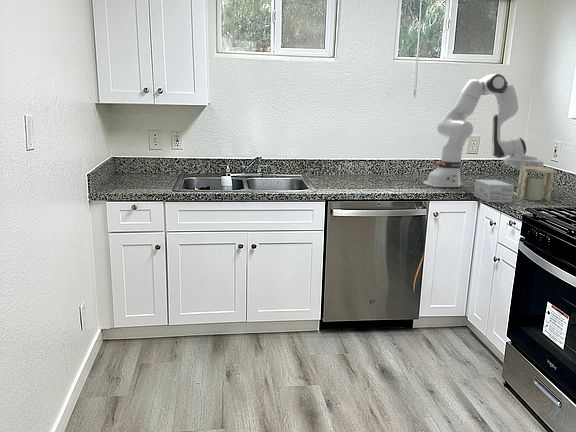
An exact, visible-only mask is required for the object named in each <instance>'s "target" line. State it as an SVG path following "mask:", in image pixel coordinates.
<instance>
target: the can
mask: <svg viewBox="0 0 576 432" xmlns="http://www.w3.org/2000/svg"><path fill="white" fill-rule="evenodd" d="M544 180H545V178H544V177H542V176H534V175H531V176H530V175H527V180H526V187H525V193H524V198H525V199H524V200H527V199H531V200H530V201H535V200H540V201H542V200H543V198H542V192H543V186H544Z"/></svg>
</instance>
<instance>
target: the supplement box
mask: <svg viewBox="0 0 576 432" xmlns="http://www.w3.org/2000/svg"><path fill="white" fill-rule="evenodd" d="M514 187H515V185H514V184H511V183H508V182H505V181H502V180H499V179H475V182H474V191H473V197H475V198H478V199H479V200H482V201H485V202H486V203H503V204H504V203H505V202H512V201H513V195H514V194H513V191H514Z"/></svg>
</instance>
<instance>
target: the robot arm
mask: <svg viewBox="0 0 576 432" xmlns="http://www.w3.org/2000/svg"><path fill="white" fill-rule="evenodd" d="M514 86H515V85H513V84H512V83H508V81H507V79H506V78H505V76H503V75H502V74H500V73H494V74H488V75H485V76H483V77H481V78H479V79H470V80H468V81H467V83H466V84H465V86H464V87H463V88H462V90H461V92H460V95H459V96H458V99H457V100H456V103H455V104H454V106H453V108H452V109H451V110H450V112H449V113H448V114H447V115H446V116H445V117H444V118H443V119H441V120H440V121H439V122H438V123H437V128H436V129H437V132H438V134H440V135H442V136H443V137H446V138H448V141H447V143H446V144H445V145H444V146H443V147H442V152H441V153H442V154H441V159H440V161H437V160H436V161H435V165H438V166H437V167H436V168H435V169H434V170H432V171H431V172H429V174H428V177H427V180H426V181H425V180H424V181H423V185H426V186H429V187H435V188H460V187H461V186H462V184H461V168H462V156H463V155H462V154H463V148H464V146H465V143H466V141H467V140H468V139H469V138H470V137H471V136H472V135H473V132H474V127H473V124H472V122H470V121H468V120H466V119H467V118H468V117H470V116H472V114H473V113H474V111H475V109H476V108H477V105H478V103H479V101H480V98H481V97H482V95H484V96H486V95H494V96H495V98H496V103H497V110H496V113H495V114H494V115H493V119H492V135H491V136H492V137H491V138H492V139H491V140H492V141H491V154H492V156H494V157H495V158H497V159H502V158H505V157H506V158H505V159H502V162H503V163H504V165H505V166H508V167H509V166H510V167H512V168H514V169H516V170H519V171H520V167H521V166H529V167H544V161H543V160H541V159H538V158H537V157H533V156H528V155H526V153H527V145H526V142H525V140H523V138H521V137H519V136H517V137H512V138H507V139H504V140H503V139H502V140H501V127H502V125H503V124H504V123H506V121H509V119H511V118H513V117H514V116H516V114H517V112H518V111H519V101H518V96H517V92H516V89H515V87H514Z"/></svg>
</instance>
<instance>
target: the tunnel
mask: <svg viewBox="0 0 576 432" xmlns="http://www.w3.org/2000/svg"><path fill="white" fill-rule="evenodd" d="M529 172H531V173H543V174H544V177H543V178H545V180H544V186H543V192H542V199H543V198H544V199H543V200H545V199H546V200H545V201H547V200H548V201H547V202H550V200H551V194H552V188H553V183H554V182H553V181H554V175H555V169H553V168H551V167H547V166H545V167H544V166H543V167H529V166H521V167H520V170H519V173H518V175H519V176H518V183H517V189H516V191H515V190H513V195H514V194H515V196H516V197H517V196H518V197H517V198H519V199H520V198H521V199H520V200H522V199H524V193H525V187H526V180H527V176H528V173H529ZM524 200H525V199H524Z"/></svg>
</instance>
